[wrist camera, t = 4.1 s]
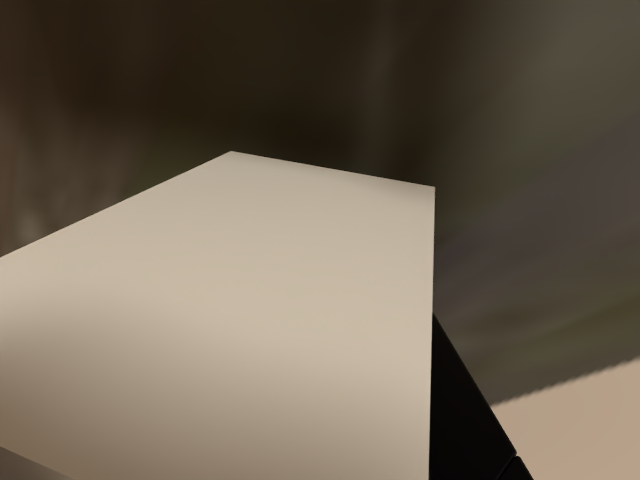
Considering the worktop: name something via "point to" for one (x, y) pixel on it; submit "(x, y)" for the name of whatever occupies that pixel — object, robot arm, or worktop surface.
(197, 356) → the stone block
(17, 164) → the worktop surface
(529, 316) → the worktop surface
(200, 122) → the worktop surface
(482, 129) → the worktop surface
